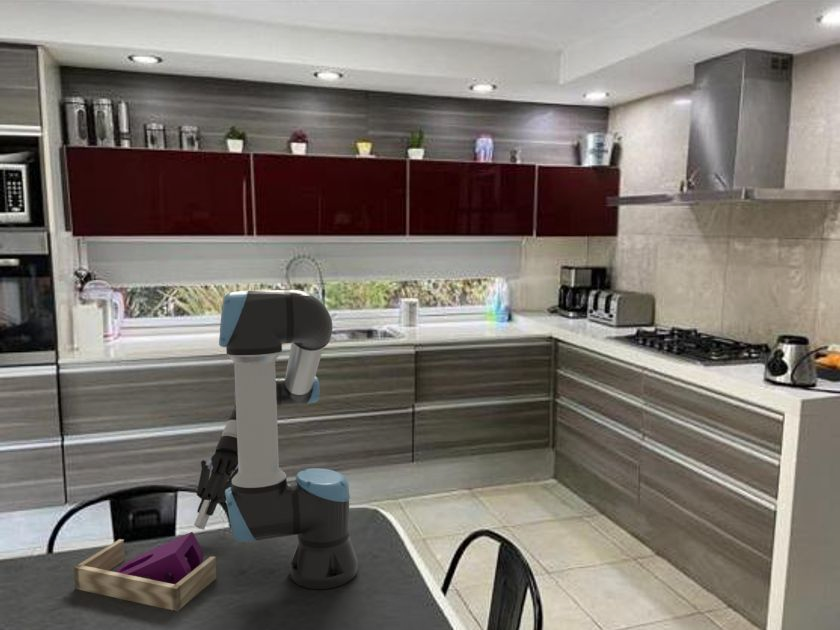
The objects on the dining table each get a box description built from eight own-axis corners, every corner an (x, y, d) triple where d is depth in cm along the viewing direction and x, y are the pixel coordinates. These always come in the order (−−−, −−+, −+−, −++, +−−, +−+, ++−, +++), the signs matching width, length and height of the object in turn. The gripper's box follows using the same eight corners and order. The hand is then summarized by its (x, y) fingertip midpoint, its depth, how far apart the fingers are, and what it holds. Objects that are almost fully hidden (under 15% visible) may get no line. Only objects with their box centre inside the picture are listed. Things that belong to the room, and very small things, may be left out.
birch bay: (216, 577, 143) (215, 557, 142) (177, 611, 130) (176, 588, 129) (120, 558, 150) (119, 539, 150) (75, 588, 138) (73, 567, 137)
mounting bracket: (121, 618, 138) (193, 586, 136) (102, 585, 137) (174, 552, 135) (142, 593, 147) (209, 563, 145) (124, 562, 146) (192, 531, 144)
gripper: (261, 449, 172) (228, 536, 159) (219, 444, 176) (184, 528, 162) (250, 436, 166) (214, 525, 153) (207, 431, 170) (169, 518, 157)
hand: (199, 527), depth 158 cm, fingers closed
